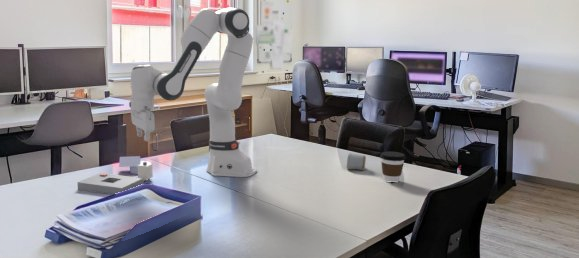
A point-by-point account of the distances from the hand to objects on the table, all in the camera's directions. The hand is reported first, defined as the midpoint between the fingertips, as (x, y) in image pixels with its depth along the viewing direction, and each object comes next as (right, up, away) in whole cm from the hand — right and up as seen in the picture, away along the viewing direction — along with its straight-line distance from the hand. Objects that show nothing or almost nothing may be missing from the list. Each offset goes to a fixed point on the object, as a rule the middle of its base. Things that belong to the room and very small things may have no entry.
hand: (143, 138), depth 203 cm
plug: (0, -17, +3) cm, 18 cm away
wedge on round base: (-8, -15, +17) cm, 24 cm away
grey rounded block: (+91, -15, +31) cm, 97 cm away
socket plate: (-11, -19, -7) cm, 23 cm away
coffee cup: (+104, -19, +12) cm, 106 cm away
